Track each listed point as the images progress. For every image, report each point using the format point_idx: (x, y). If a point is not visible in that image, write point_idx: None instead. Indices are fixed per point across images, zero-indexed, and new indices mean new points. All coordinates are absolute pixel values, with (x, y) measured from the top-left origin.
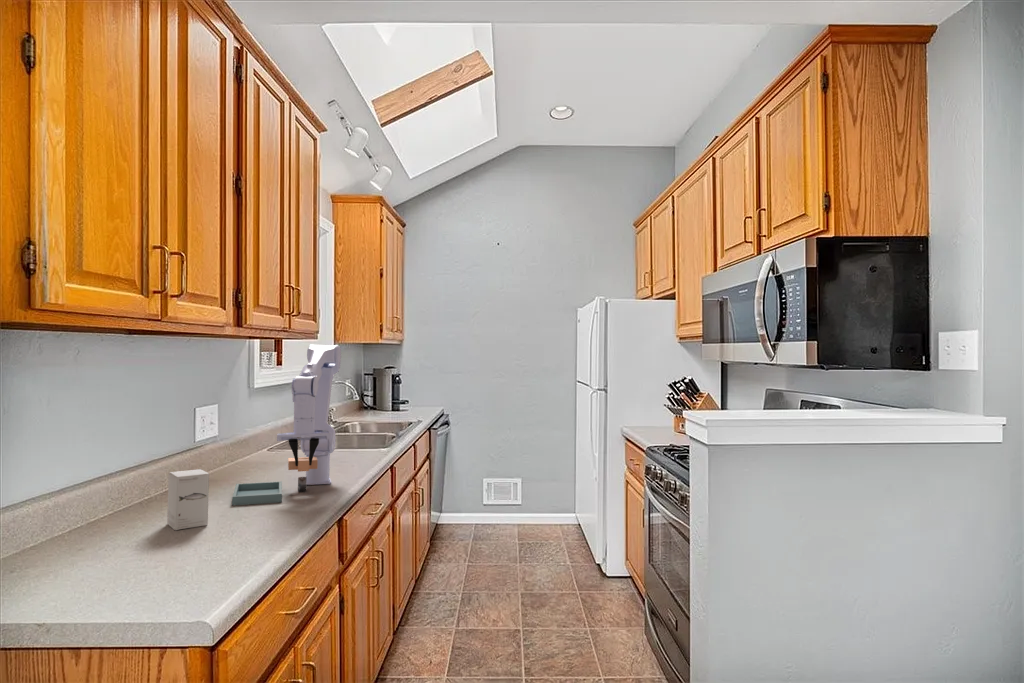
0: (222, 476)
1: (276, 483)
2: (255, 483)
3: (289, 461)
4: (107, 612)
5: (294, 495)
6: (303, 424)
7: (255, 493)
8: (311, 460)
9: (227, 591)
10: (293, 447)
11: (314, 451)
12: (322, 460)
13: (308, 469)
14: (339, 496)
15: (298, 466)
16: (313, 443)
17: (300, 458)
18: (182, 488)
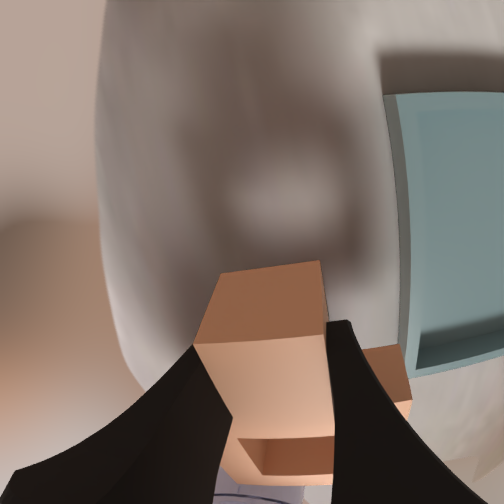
0: (501, 446)
1: (423, 364)
2: (499, 349)
3: (405, 399)
4: None
5: (337, 242)
6: None
7: (502, 268)
8: (181, 359)
9: None
10: (422, 499)
11: (106, 425)
12: (226, 476)
13: (222, 280)
14: (114, 203)
15: (317, 288)
16: (38, 500)
17: (320, 473)
18: None
